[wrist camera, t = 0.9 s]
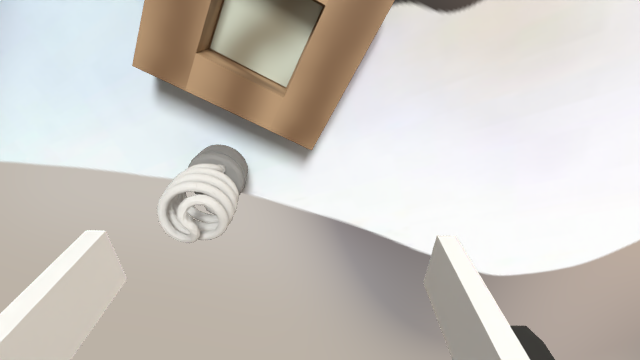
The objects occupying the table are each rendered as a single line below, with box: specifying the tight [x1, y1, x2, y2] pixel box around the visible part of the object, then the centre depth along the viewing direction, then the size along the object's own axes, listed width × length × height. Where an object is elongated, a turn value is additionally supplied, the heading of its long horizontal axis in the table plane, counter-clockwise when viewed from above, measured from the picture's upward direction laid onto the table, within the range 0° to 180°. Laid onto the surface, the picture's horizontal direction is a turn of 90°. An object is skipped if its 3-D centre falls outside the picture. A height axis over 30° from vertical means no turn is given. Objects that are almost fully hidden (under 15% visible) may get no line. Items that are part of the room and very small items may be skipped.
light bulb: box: [157, 145, 248, 243], centre depth 27 cm, size 6×6×12 cm
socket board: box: [132, 0, 395, 150], centre depth 24 cm, size 16×14×4 cm
